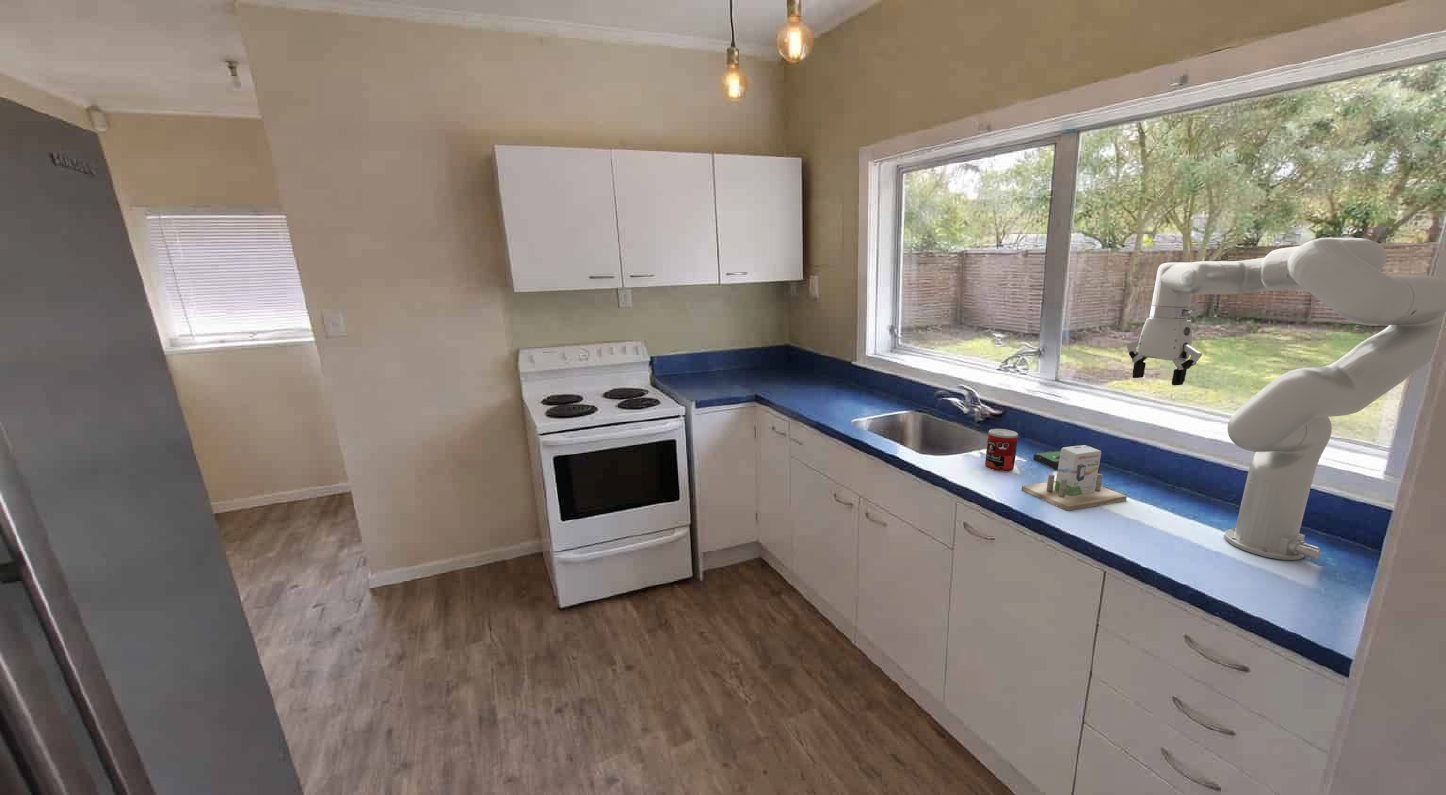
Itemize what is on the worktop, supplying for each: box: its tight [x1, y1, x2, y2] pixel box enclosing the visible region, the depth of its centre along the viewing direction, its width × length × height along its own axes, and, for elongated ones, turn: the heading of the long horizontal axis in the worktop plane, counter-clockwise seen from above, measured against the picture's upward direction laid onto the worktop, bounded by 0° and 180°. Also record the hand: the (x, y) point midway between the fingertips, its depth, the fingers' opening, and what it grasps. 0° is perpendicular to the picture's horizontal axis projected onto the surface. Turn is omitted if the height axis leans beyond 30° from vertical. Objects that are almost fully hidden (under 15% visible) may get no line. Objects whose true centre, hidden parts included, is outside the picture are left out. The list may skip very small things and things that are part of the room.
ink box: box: [1055, 444, 1102, 496], centre depth 146 cm, size 9×5×12 cm, turn 107°
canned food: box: [984, 428, 1019, 472], centre depth 167 cm, size 8×8×11 cm
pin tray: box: [1021, 473, 1128, 512], centre depth 147 cm, size 14×20×6 cm
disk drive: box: [1033, 450, 1101, 474], centre depth 169 cm, size 10×3×15 cm
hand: (1156, 381), depth 143 cm, fingers open, 9 cm apart
